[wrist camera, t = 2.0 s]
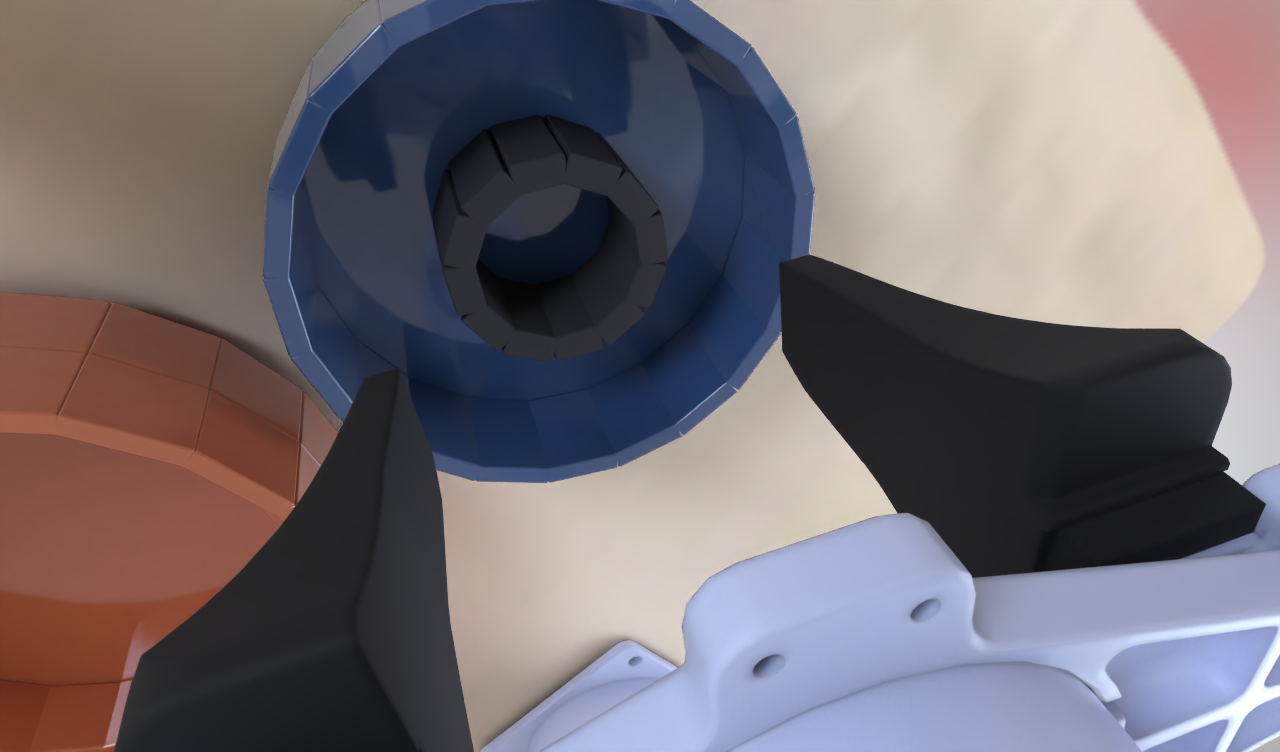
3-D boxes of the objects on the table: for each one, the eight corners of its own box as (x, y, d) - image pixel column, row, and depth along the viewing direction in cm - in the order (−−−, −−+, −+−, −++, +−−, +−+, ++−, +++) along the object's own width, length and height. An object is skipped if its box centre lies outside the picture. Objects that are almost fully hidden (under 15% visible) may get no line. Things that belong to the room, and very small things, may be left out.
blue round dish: (828, 209, 23) (895, 263, 21) (521, 468, 25) (543, 551, 23) (552, -194, 16) (595, -195, 14) (157, 209, 18) (123, 282, 16)
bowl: (475, 490, 25) (498, 615, 21) (157, 761, 28) (125, 918, 24) (-53, 143, 17) (-179, 247, 13) (-450, 584, 19) (-658, 785, 15)
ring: (670, 216, 22) (707, 262, 19) (531, 338, 22) (551, 396, 20) (544, 70, 19) (571, 104, 16) (390, 217, 19) (395, 269, 17)
